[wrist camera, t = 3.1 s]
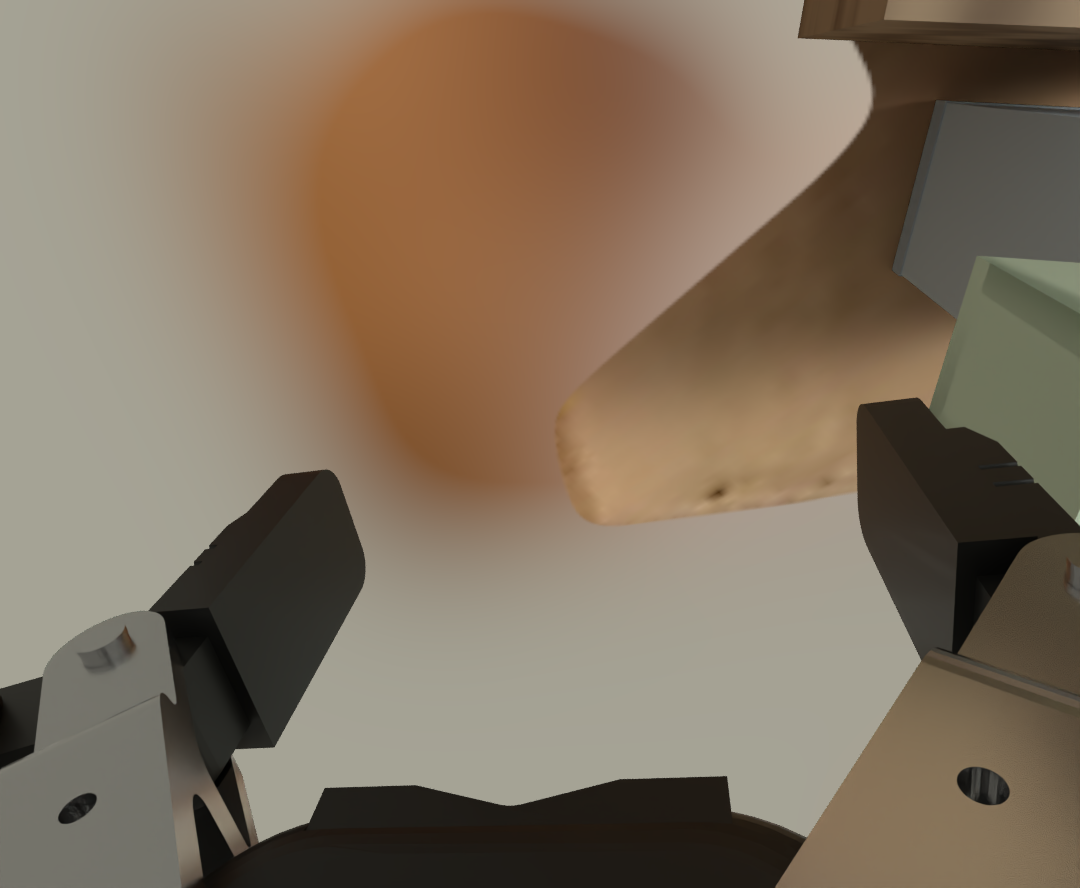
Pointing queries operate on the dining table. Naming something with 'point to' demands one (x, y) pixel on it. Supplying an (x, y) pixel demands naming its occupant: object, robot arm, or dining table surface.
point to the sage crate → (1020, 368)
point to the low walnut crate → (946, 22)
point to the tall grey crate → (991, 194)
